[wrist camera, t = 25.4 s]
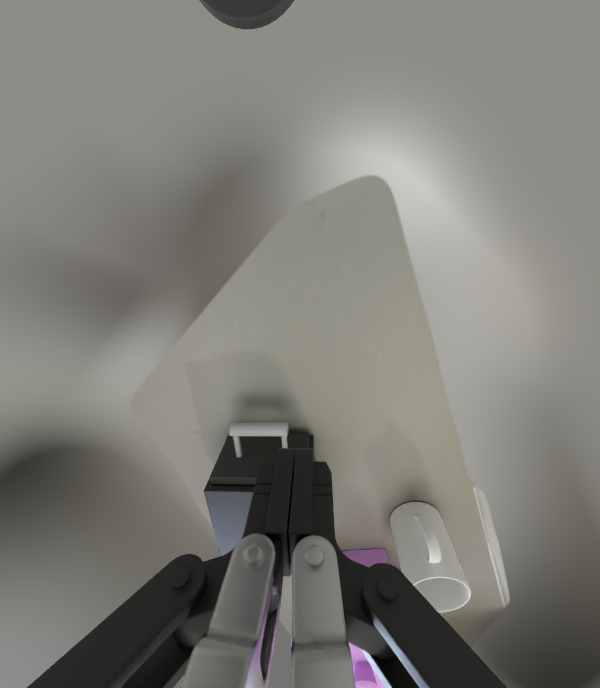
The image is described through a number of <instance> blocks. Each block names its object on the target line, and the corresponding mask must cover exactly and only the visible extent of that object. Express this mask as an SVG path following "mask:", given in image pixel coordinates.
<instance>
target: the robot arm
mask: <svg viewBox="0 0 600 688" xmlns="http://www.w3.org/2000/svg"><path fill="white" fill-rule="evenodd" d="M291 570H292V647H291V688H356V686H355V678H354V670H353V663H352V656H351V651H350V646H349V643H351V644H353V645H354V646H356V647H358V648H360V649H361V650H362V652H363V654H364V655H365V657H366V659H367V660H368V662H369V663H370V665H371V666H372V668H373V669H374V671H375V672H376V674H377V676H378V677H379V679H380V680H381V682H382V683H383V685H384V686H385V688H507V687H506V686H505V685H504V684H503V683H502V682H501V681H500V680H499V679H498V677H497V676H496V675H495V674H494V673H493V672H492V671H491V670H490V669H489V668H488V666H487V665H486V664H485V663H484V662H483V661H482V660H481V659H480V658H479V657H478V655H477V654H476V653H475V652H474V651H473V650H472V649H471V648H470V647H469V646H468V645H467V643H466V642H465V641H464V640H463V639H462V638H461V637H460V636H459V635H458V634H457V632H456V631H455V630H454V629H453V628H452V627H451V626H450V625H449V624H448V623H447V621H446V620H445V619H444V618H443V617H442V616H441V615H440V614H439V613H438V612H437V611H436V609H435V608H434V607H433V606H432V605H431V604H430V603H429V602H428V601H427V600H426V598H425V597H424V596H423V595H422V594H421V593H420V592H419V591H418V590H417V589H416V587H415V586H414V585H413V584H412V583H411V582H410V581H409V580H408V579H407V578H406V577H405V575H404V574H403V573H402V572H401V571H400V570H398V569H397V568H396V567H394V566H392V565H390V564H387V563H377V564H374V565H372V566H370V567H367V566H364V565H362V564H360V563H357V562H355V561H353V560H351V559H349V558H348V557H347V556H346V555H344V554H343V552H342V551H341V550H340V548H339V547H338V545H337V542H336V539H335V531H334V513H333V496H332V476H331V471H330V469H329V467H328V465H327V463H326V462H314V459H313V448H296V449H295V448H278V451H277V457H276V461H265V462H264V464H263V465H262V466H261V468H260V469H259V471H258V474H257V479H256V484H255V487H254V491H253V496H252V500H251V504H250V509H249V513H248V517H247V522H246V526H245V530H244V534H243V536H242V538H241V540H240V541H239V542H238V544H237V545H236V546H235V548H234V549H233V550H231V551H230V552H228V553H227V554H225V555H223V556H220V557H217V558H214V559H211V560H208V561H205V562H203V561H202V560H201V559H200V558H199V557H198V556H196V555H192V554H186V555H182V556H179V557H177V558H176V559H174V560H173V561H172V562H170V563H169V564H168V565H167V566H165V567H164V568H163V569H162V570H161V571H160V572H159V573H157V574H156V575H155V576H154V577H153V578H152V579H151V580H149V581H148V582H147V583H146V584H145V585H144V586H143V587H141V588H140V589H139V590H138V591H137V592H136V593H135V594H133V595H132V596H131V597H130V598H129V599H128V600H127V601H125V602H124V603H123V604H122V605H121V606H120V607H119V608H117V610H115V611H114V612H113V613H112V614H111V615H109V616H108V617H107V618H106V619H105V620H104V621H103V622H101V623H100V624H99V625H98V626H97V627H96V628H95V629H94V630H92V631H91V632H90V633H89V634H88V635H87V636H85V638H83V639H82V640H81V641H80V642H79V643H77V644H76V645H75V646H74V647H73V648H72V649H71V650H70V651H68V652H67V653H66V654H65V655H64V656H63V657H61V658H60V659H59V660H58V661H57V662H56V663H55V664H54V665H52V666H51V667H50V668H49V669H48V670H47V671H46V672H44V673H43V674H42V675H41V676H40V677H39V678H37V679H36V680H35V681H34V682H33V683H32V684H31V685H30V686H28V687H27V688H173V687H174V686H175V685H176V683H177V682H178V681H179V680H180V679H181V677H182V676H183V675H184V674H185V675H184V678H183V681H182V684H181V687H180V688H268V682H269V675H270V668H271V662H272V655H273V649H274V642H275V636H276V630H277V623H278V617H279V611H280V603H281V594H282V584H283V576H290V571H291ZM348 642H349V643H348Z"/></svg>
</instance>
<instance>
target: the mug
mask: <svg viewBox="0 0 600 688" xmlns="http://www.w3.org/2000/svg"><path fill="white" fill-rule="evenodd" d="M390 524H391V529H392V533H393V537H394V542H395V546H396V550H397V555H398V559H399V564H400V568H401V572H402V573H403V574H404V575H405V577H406V578H407V579H408V580H409V581H410V582H411V583H412V584H413V585H414V586H415V587H416V589H417V590H418V591H419V592H420V593H421V594H422V595H423V596H424V597H425V598H426V600H427V601H428V602H429V603H430V604H431V605H432V606H433V607H434V608H435V609H436V611H437V612H438V613H440V612H448V611H453V610H456V609H458V608H460V607H462V606H463V605H465V604H466V603H467V602H468V601H469V599H470V597H471V591H470V588H469V585H468V583H467V580H466V578H465V575H464V573H463V570H462V568H461V565H460V563H459V560H458V558H457V556H456V553H455V551H454V548H453V546H452V543H451V541H450V538H449V536H448V533H447V531H446V528H445V526H444V523H443V521H442V518H441V516H440V514H439V512H438V511H437V510H436V509H435V508H434V507H433V506H431V505H429V504H427V503H423V502H409V503H405V504H402V505H400V506H399V507H397V508H396V509H395V510H394V511H393V512H392V514H391V516H390Z"/></svg>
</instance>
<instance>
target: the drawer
mask: <svg viewBox="0 0 600 688" xmlns="http://www.w3.org/2000/svg"><path fill="white" fill-rule="evenodd" d="M278 448H295V449H296V448H309V433H288V423H230V426H229V435H228V437H227V439H226V442H225V444H224V446H223V448H222V451H221V453H220V455H219V458H218V460H217V462H216V464H215V467H214V469H213V471H212V473H211V476H210V480H211V484H222V486H247V485H255V484H256V479H257V474H258V471H259V469H260V468H261V466H262V465H263V464H264V462H265V461H276V457H277V451H278Z"/></svg>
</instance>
